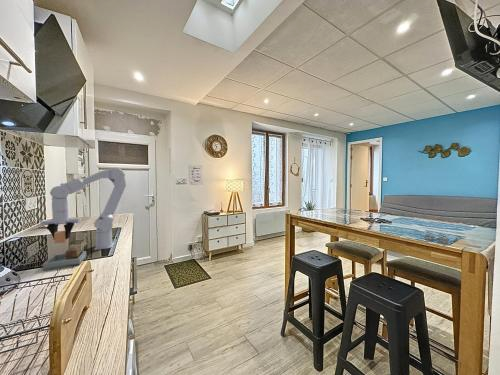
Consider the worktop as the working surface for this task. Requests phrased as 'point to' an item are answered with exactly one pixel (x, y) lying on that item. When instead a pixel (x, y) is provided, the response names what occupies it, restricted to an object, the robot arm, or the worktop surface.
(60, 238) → the terracotta block
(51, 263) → the slate tray
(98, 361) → the worktop surface
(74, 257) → the walnut block
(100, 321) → the worktop surface
